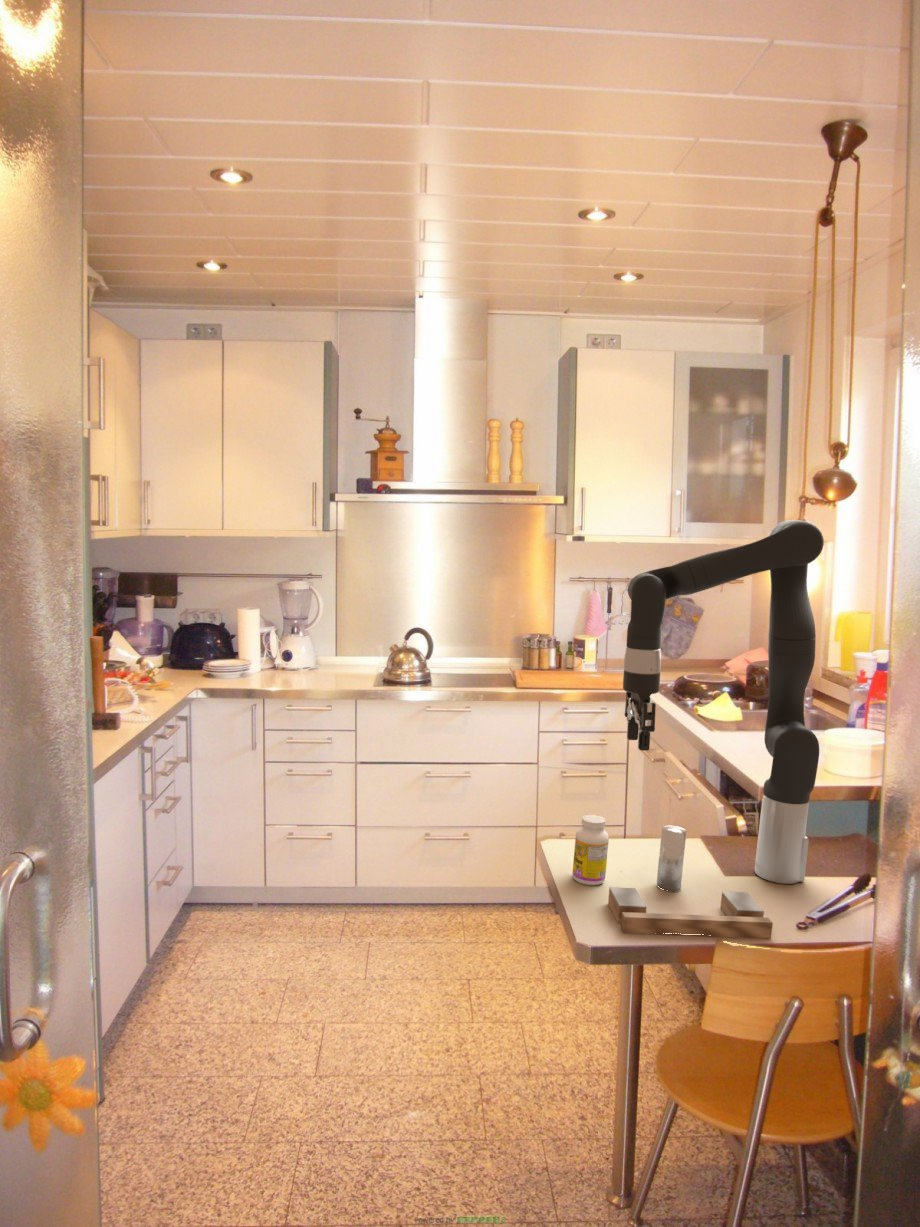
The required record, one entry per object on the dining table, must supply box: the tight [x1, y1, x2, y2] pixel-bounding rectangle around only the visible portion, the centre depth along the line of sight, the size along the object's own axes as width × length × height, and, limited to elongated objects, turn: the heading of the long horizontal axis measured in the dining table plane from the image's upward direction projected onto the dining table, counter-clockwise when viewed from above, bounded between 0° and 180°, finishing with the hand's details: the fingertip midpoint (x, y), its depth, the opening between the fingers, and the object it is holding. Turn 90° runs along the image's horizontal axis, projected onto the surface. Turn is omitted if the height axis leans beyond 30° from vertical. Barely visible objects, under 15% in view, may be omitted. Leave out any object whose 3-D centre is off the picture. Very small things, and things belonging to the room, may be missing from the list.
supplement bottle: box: [572, 814, 610, 886], centre depth 181 cm, size 7×7×13 cm
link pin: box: [656, 824, 687, 892], centre depth 181 cm, size 5×5×12 cm
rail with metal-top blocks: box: [607, 886, 774, 939], centre depth 166 cm, size 27×12×3 cm, turn 94°
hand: (637, 744), depth 190 cm, fingers open, 8 cm apart
